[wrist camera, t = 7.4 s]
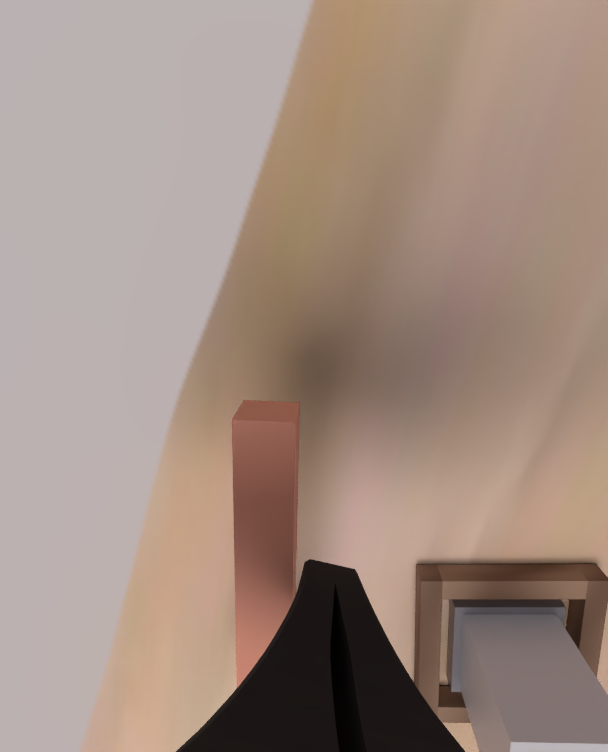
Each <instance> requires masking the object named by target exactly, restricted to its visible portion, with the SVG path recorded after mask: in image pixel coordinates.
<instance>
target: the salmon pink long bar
mask: <svg viewBox="0 0 608 752" xmlns="http://www.w3.org/2000/svg"><path fill="white" fill-rule="evenodd" d="M299 416H300V402H275V401H250V400H244V401H243V402H242V404H241V406H240V407H239V409H238V411H237V412H236V414H235V416H234V417H233V419H232V447H233V501H234V556H235V610H236V664H237V688H238V687H239V685H240V684H241V683H242V681H243V680H244V679H245V678H246V676H247V675H248V674H249V672H250V671H251V670H252V669H253V667H254V666H255V664H256V663H257V662H258V660H259V659H260V657H261V656H262V655H263V653H264V652H265V650H266V649H267V647H268V646H269V644H270V642H271V641H272V639H273V638H274V636H275V634H276V632H277V631H278V629H279V627H280V626H281V624H282V622H283V620H284V619H285V617H286V615H287V613H288V611H289V609H290V607H291V605H292V602H293V600H294V598H295V595H296V550H297V505H298V461H299Z"/></svg>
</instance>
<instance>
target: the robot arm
mask: <svg viewBox="0 0 608 752" xmlns="http://www.w3.org/2000/svg"><path fill="white" fill-rule="evenodd" d="M176 752H465V751H464V749H463V748H462V747H461V746H460V744H459V743H458V742H457V741H456V740H455V738H454V737H453V736H452V735H451V733H450V732H449V731H448V730H447V728H446V727H445V726H444V725H443V723H442V722H441V721H440V719H439V718H438V717H437V715H436V714H435V713H434V711H433V710H432V709H431V707H430V706H429V704H428V703H427V702H426V700H425V699H424V697H423V696H422V694H421V693H420V691H419V690H418V689H417V687H416V685H415V684H414V682H413V681H412V679H411V678H410V676H409V674H408V673H407V671H406V670H405V668H404V666H403V664H402V663H401V661H400V659H399V658H398V656H397V654H396V652H395V651H394V649H393V647H392V645H391V643H390V642H389V640H388V638H387V636H386V634H385V632H384V630H383V628H382V626H381V624H380V622H379V620H378V618H377V616H376V614H375V612H374V610H373V608H372V606H371V604H370V602H369V599H368V597H367V595H366V593H365V590H364V588H363V586H362V583H361V581H360V579H359V576H358V574H357V572H356V571H355V569H351V568H347V567H342V566H338V565H333V564H329V563H324V562H320V561H315V560H311V559H310V560H308V561H306V562H305V563H304V567H303V571H302V575H301V579H300V583H299V587H298V591H297V594H296V596H295V598H294V600H293V602H292V605H291V607H290V609H289V611H288V613H287V615H286V617H285V619H284V620H283V622H282V624H281V626H280V627H279V629H278V631H277V632H276V634H275V636H274V638H273V639H272V641H271V642H270V644H269V646H268V647H267V649H266V650H265V652H264V653H263V655H262V656H261V657H260V659H259V660H258V662H257V663H256V664H255V666H254V667H253V669H252V670H251V671H250V672H249V674H248V675H247V676H246V678H245V679H244V680H243V681H242V683H241V684H240V685H239V687H238V688H237V689H236V690H235V691H234V693H233V694H232V695H231V696H230V697H229V698H228V700H227V701H226V702H225V703H224V704H223V705H222V706H221V707H220V708H219V709H218V710H217V712H216V713H215V714H214V715H213V716H212V717H211V718H210V719H209V720H208V721H207V722H206V724H205V725H204V726H203V727H202V728H201V729H200V730H199V731H198V732H197V733H195V734H194V735H193V736H192V737H191V738H190V739H189V740H188V741H187V742H186V743H185V744H184V745H183V746H181V747H180V748H179V749H178V750H177V751H176Z"/></svg>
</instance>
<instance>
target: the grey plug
mask: <svg viewBox="0 0 608 752" xmlns="http://www.w3.org/2000/svg"><path fill="white" fill-rule="evenodd" d="M565 610H566V607H565V606H564V604H563V603H562V601H561V600H560V599H449V624H448V649H447V674H446V675H447V679H448V682H449V686H450V689H451V692H461V693H462V696H463V699H464V702H465V706H466V709H467V712H468V716H469V719H470V722H471V726H472V729H473V732H474V735H475V739H476V742H477V745H478V749H479V752H608V695H607V694H606V692H605V690H604V689H603V687H602V686H601V684H600V682H599V681H598V679H597V678H596V676H595V675H594V673H593V671H592V670H591V668H590V667H589V665H588V664H587V662H586V660H585V659H584V657H583V656H582V654H581V653H580V651H579V649H578V648H577V646H576V645H575V643H574V641H573V640H572V638H571V637H570V635H569V634H568V632H567V630H566V629H565V627H564V618H565Z"/></svg>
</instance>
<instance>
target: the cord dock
mask: <svg viewBox="0 0 608 752" xmlns="http://www.w3.org/2000/svg"><path fill="white" fill-rule="evenodd" d="M442 599H570V605H569V613H568V622H567V632H568V634H569V635H570V637H571V638H572V640H573V641H574V643H575V645H576V646H577V648H578V649H579V651H580V653H581V654H582V656H583V657H584V659H585V660H586V662H587V664H588V665H589V667H590V668H591V670H592V671H593V673H594V675H595V676H596V678H597V671H598V664H599V657H600V650H601V643H602V637H603V630H604V623H605V616H606V609H607V602H608V577H607V576H606V575H605V574H604V573H603V572H602V571H601V569H600V568H599V567H598V566H597V565H596V564H473V565H416V618H415V674H414V684H415V685H416V687H417V689H418V690H419V691H420V693H421V694H422V696H423V697H424V699H425V700H426V702H427V703H428V704H429V706H430V707H431V709H432V710H433V711H434V713H435V714H436V715H437V717H438V718H439V719H440V721H441V722H447V723H471V722H470V719H469V716H468V712H467V709H466V706H465V702H464V699H463V696H462V693H461V692H451V689H450V686H439V671H440V643H441V615H442Z"/></svg>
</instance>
